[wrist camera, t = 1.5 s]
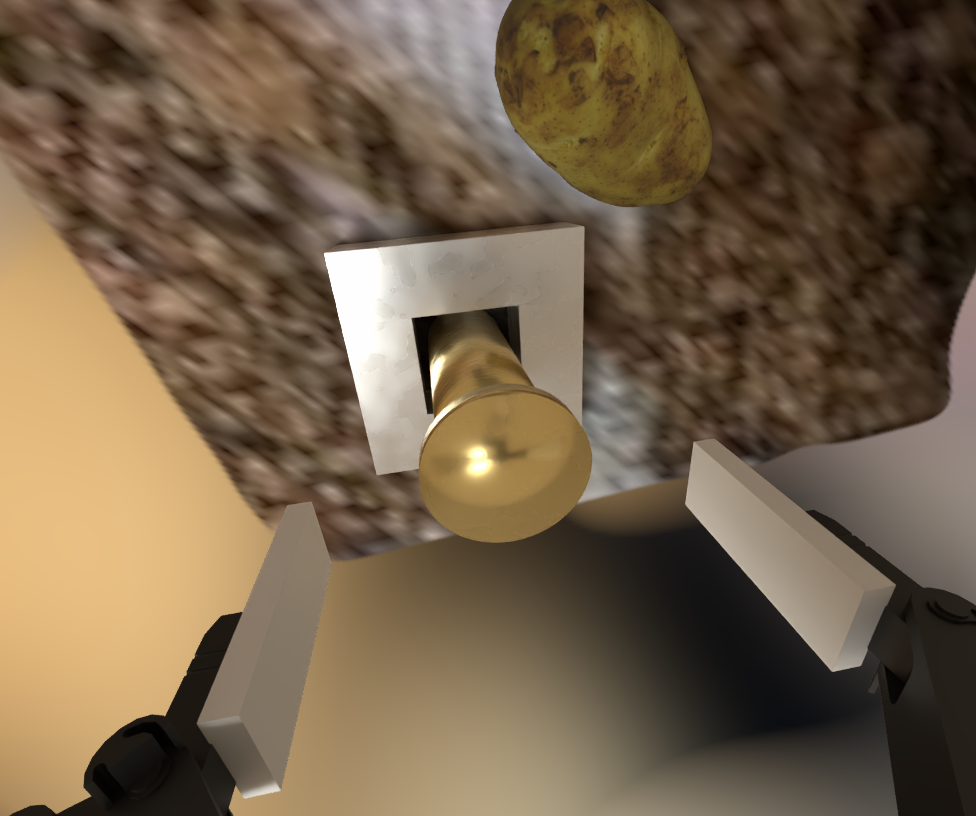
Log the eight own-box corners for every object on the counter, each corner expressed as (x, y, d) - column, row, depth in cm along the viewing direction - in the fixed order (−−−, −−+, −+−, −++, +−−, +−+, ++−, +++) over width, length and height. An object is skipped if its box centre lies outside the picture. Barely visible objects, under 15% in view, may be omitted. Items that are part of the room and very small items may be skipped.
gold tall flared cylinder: (410, 300, 29) (405, 409, 15) (507, 289, 29) (593, 382, 15) (424, 390, 32) (432, 554, 17) (512, 378, 32) (590, 527, 18)
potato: (589, 260, 29) (645, 282, 22) (455, 75, 24) (472, 27, 17) (694, 165, 28) (790, 157, 21) (576, -55, 22) (651, -168, 15)
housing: (336, 245, 27) (324, 253, 23) (562, 221, 28) (584, 226, 24) (380, 444, 33) (376, 474, 29) (564, 417, 34) (581, 443, 31)
